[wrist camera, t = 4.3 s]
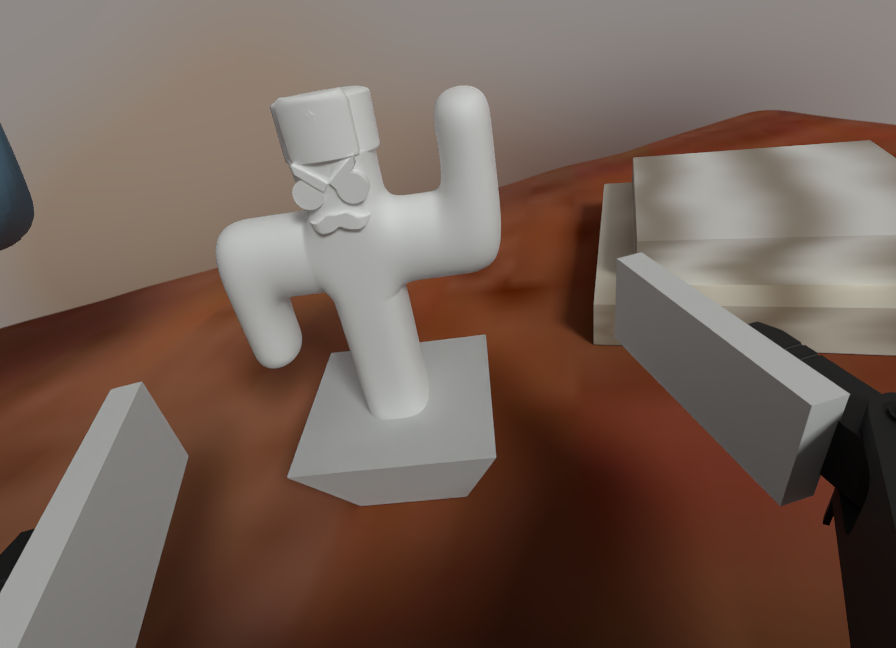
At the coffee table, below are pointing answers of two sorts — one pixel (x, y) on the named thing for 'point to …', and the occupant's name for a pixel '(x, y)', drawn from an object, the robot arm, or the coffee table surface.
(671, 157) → the plinth
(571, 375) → the coffee table surface
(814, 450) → the robot arm
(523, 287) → the coffee table surface
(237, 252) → the figurine
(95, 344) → the coffee table surface
